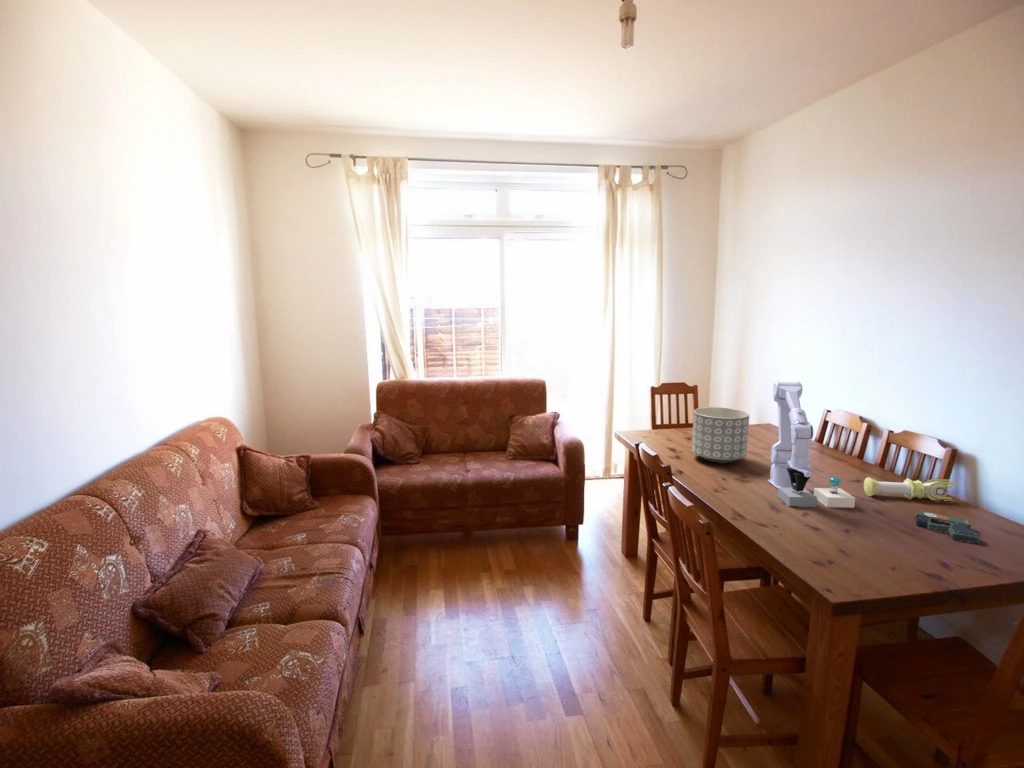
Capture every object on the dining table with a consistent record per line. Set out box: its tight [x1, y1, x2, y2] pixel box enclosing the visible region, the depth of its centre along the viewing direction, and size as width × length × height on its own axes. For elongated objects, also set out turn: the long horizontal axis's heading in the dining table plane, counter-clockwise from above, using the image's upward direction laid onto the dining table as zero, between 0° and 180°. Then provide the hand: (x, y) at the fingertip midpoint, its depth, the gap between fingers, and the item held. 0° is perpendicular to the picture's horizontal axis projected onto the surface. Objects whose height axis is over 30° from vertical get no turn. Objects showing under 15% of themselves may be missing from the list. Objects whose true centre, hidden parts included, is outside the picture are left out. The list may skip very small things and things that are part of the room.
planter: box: [691, 406, 750, 464], centre depth 252 cm, size 25×25×24 cm
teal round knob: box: [829, 476, 842, 494], centre depth 199 cm, size 4×4×6 cm
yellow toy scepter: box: [863, 476, 957, 501], centre depth 203 cm, size 8×8×30 cm
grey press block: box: [776, 487, 818, 508], centre depth 200 cm, size 10×10×4 cm
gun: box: [915, 509, 981, 544], centre depth 175 cm, size 3×16×15 cm
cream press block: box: [812, 487, 856, 509], centre depth 200 cm, size 10×10×4 cm
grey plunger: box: [792, 482, 800, 494], centre depth 200 cm, size 4×4×6 cm
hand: (797, 488), depth 200 cm, fingers closed on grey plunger, 4 cm apart
